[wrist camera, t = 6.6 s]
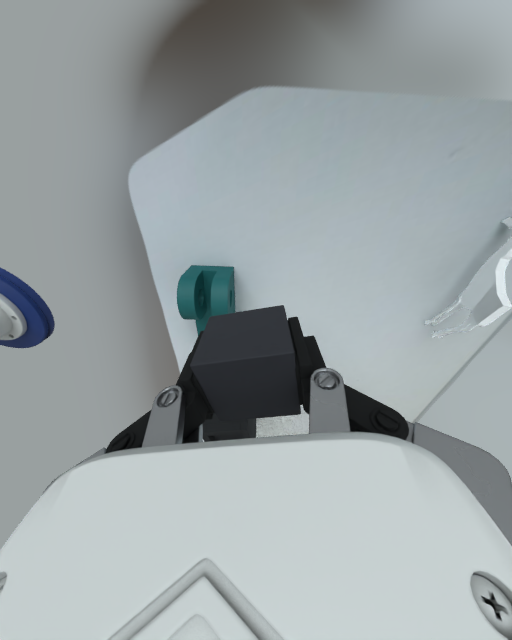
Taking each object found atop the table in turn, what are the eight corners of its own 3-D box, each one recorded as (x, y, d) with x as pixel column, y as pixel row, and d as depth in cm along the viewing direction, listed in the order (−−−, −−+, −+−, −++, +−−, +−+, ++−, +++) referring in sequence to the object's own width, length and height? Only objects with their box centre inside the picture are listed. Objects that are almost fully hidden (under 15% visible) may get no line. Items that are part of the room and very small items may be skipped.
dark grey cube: (209, 316, 12) (188, 365, 8) (283, 304, 11) (294, 352, 8) (228, 367, 14) (219, 422, 11) (290, 360, 13) (301, 414, 10)
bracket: (191, 265, 31) (173, 284, 24) (233, 266, 31) (226, 286, 24) (204, 349, 41) (193, 379, 34) (236, 350, 41) (231, 380, 34)
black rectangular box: (213, 378, 46) (199, 433, 35) (250, 374, 45) (247, 429, 34) (222, 401, 51) (213, 455, 40) (256, 398, 50) (255, 452, 39)
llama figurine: (418, 297, 40) (532, 207, 25) (444, 346, 33) (618, 265, 19) (409, 296, 40) (519, 205, 25) (434, 345, 33) (601, 262, 19)
